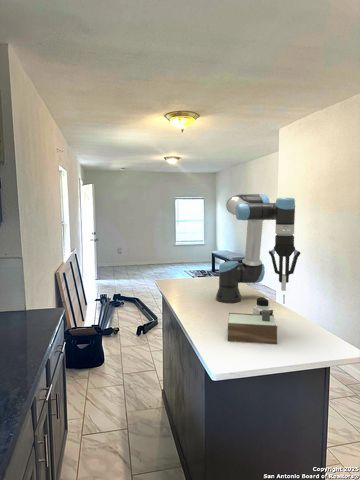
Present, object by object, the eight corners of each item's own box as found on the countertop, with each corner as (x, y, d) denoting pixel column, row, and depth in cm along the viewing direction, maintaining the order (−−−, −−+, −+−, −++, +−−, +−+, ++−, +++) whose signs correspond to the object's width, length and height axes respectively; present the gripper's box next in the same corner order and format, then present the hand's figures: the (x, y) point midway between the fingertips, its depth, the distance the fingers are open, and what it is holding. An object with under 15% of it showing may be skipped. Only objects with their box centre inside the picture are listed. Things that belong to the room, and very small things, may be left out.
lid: (229, 315, 148) (229, 305, 147) (273, 318, 144) (273, 307, 144) (228, 324, 137) (228, 313, 136) (276, 327, 133) (276, 316, 133)
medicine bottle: (259, 325, 154) (260, 300, 153) (252, 320, 161) (252, 296, 160) (272, 323, 156) (273, 299, 155) (265, 318, 163) (265, 295, 162)
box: (228, 328, 150) (229, 312, 149) (273, 331, 146) (273, 315, 145) (227, 340, 136) (227, 323, 135) (276, 344, 132) (277, 326, 132)
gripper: (269, 235, 132) (268, 291, 134) (302, 235, 129) (301, 292, 132) (267, 233, 139) (266, 287, 141) (299, 234, 137) (298, 288, 139)
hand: (283, 290), depth 136 cm, fingers closed
